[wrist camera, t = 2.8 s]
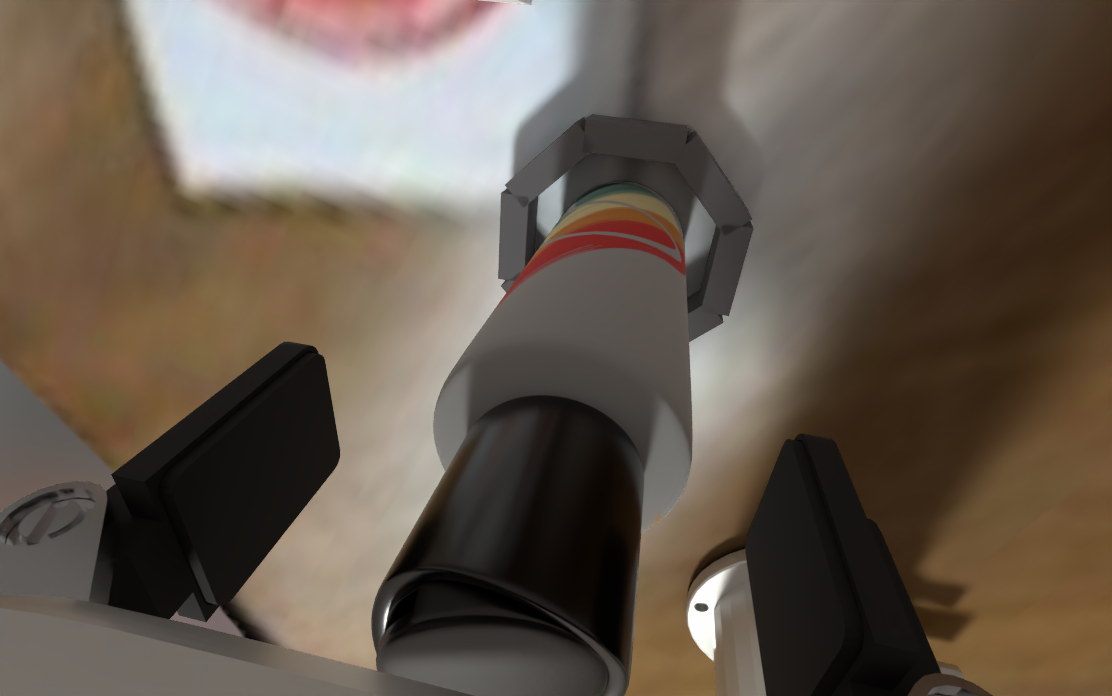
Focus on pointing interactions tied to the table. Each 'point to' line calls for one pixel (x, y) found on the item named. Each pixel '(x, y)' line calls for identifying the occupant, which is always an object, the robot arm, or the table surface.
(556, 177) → the collar
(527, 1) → the bin
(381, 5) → the table surface
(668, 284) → the lotion bottle
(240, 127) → the table surface
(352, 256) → the table surface
